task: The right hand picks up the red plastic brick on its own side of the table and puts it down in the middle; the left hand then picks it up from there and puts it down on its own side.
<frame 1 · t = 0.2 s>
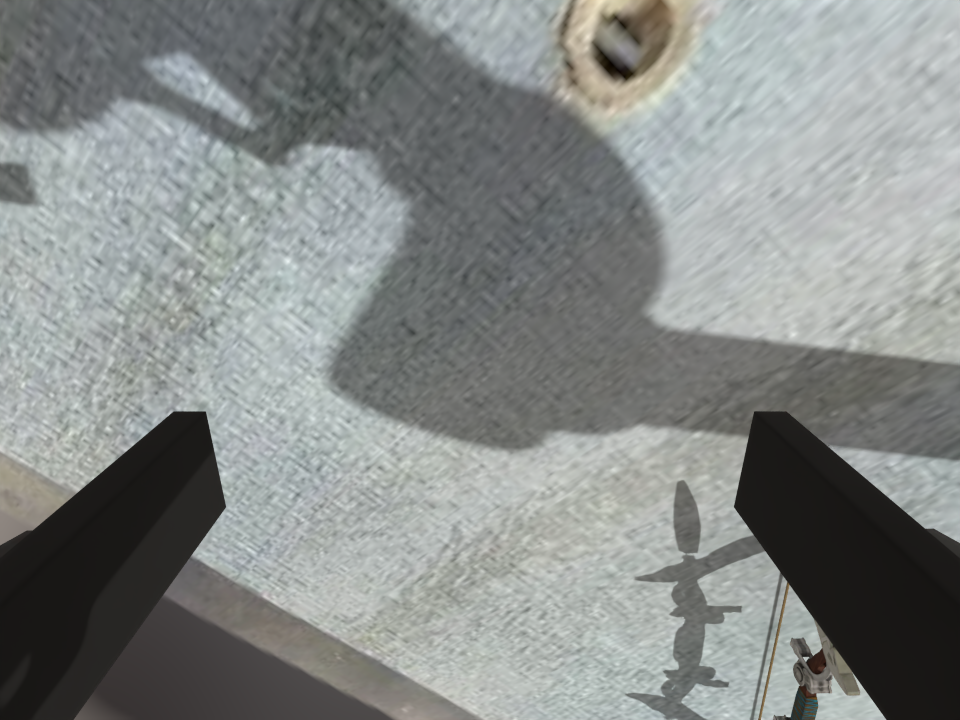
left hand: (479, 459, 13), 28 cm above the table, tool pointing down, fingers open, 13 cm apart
bow: (771, 652, 54), on the table
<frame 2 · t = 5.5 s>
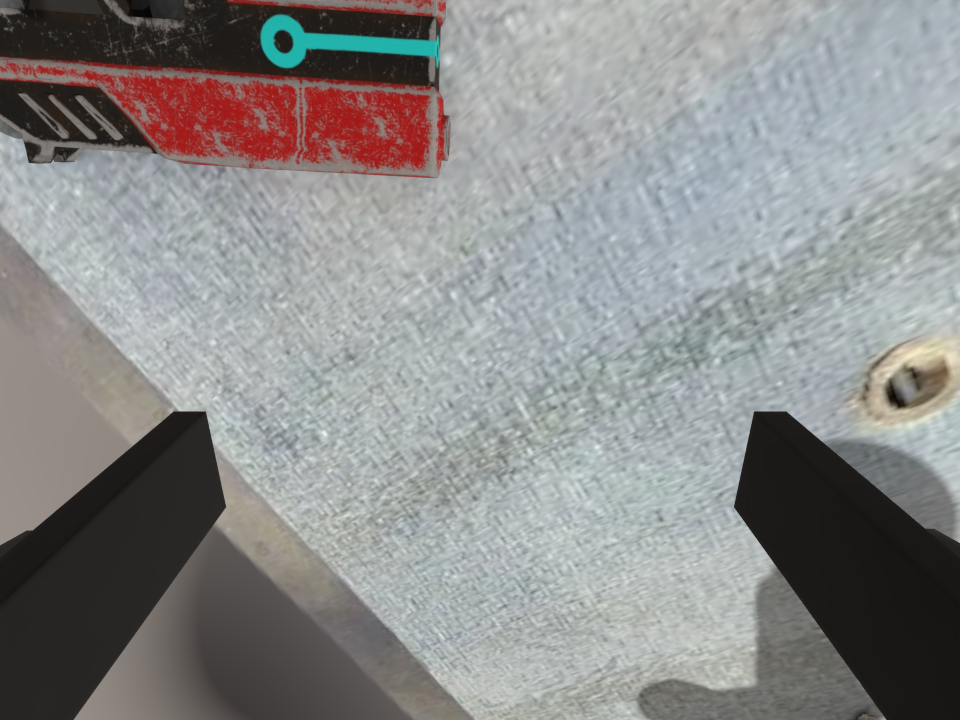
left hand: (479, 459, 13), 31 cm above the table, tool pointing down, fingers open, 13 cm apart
gun: (231, 28, 36), on the table
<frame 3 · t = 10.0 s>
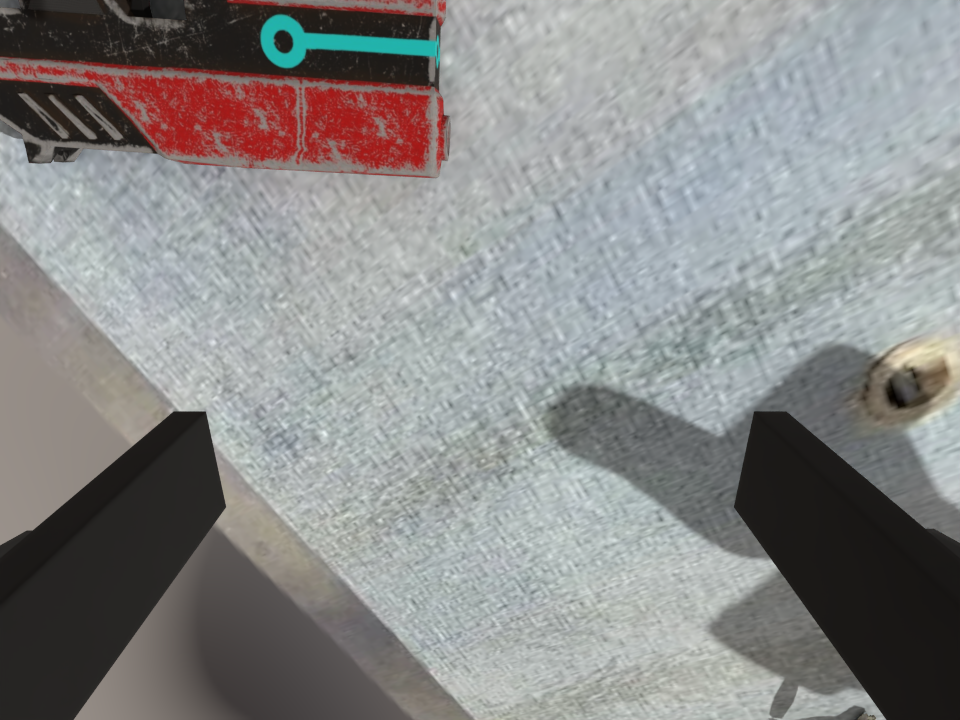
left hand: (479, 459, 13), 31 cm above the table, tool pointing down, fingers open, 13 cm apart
gun: (231, 28, 36), on the table
when the right hand's fingers open (4 cm above the table, at t = 14.5 s): brick drops 2 cm, on the table.
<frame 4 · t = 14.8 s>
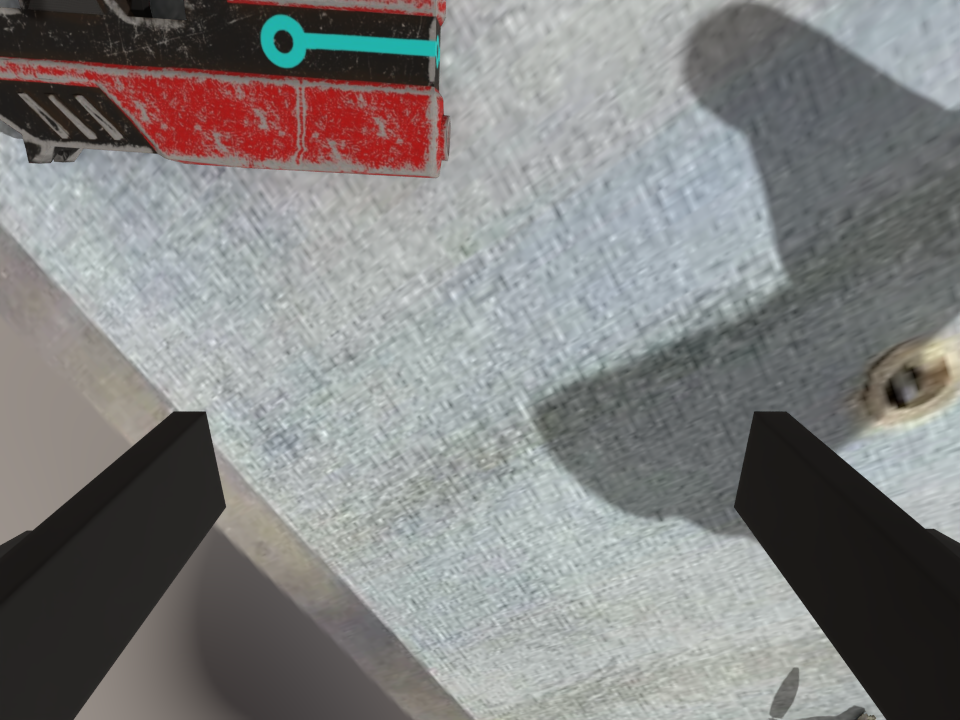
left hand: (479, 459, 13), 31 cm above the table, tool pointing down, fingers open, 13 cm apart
gun: (231, 28, 36), on the table
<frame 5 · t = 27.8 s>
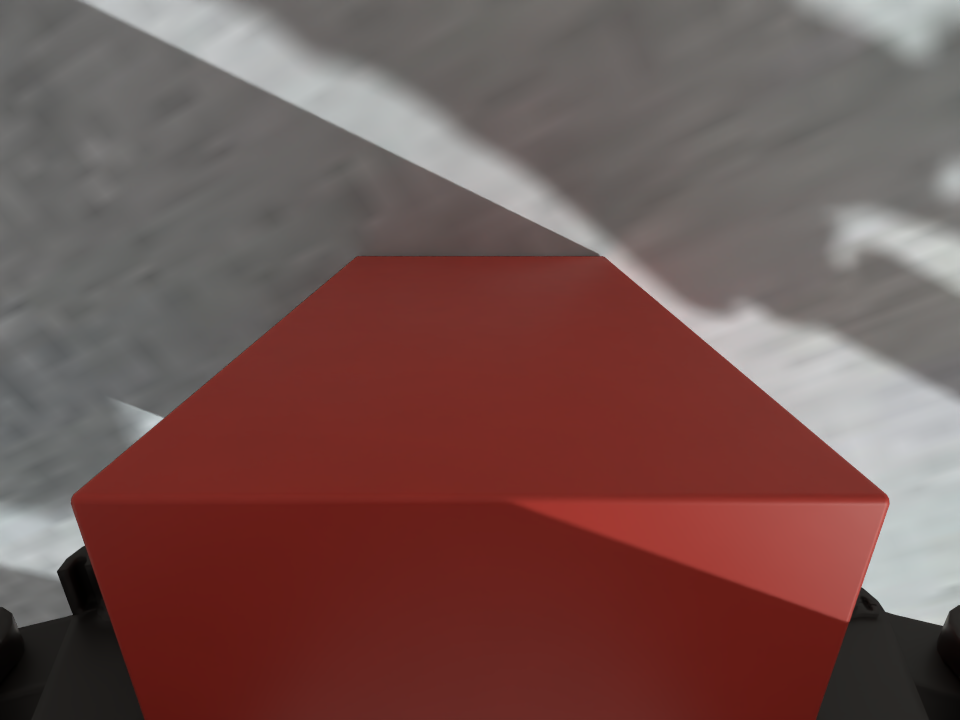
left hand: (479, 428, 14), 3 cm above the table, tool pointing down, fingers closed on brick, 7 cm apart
brick: (480, 389, 17), on the table, touching left hand
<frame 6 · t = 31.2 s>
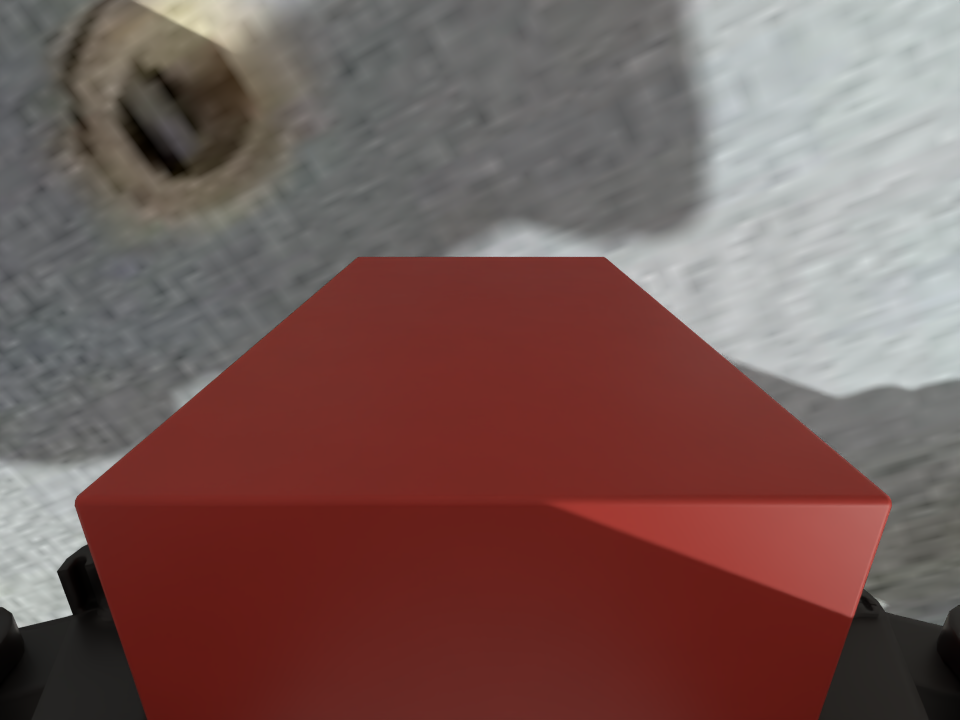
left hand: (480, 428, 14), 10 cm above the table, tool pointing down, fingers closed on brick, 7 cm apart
brick: (481, 389, 17), point 8 cm above the table, touching left hand
when the left hand's fingers open (4 cm above the table, at t = 34.6 s): brick drops 2 cm, on the table.
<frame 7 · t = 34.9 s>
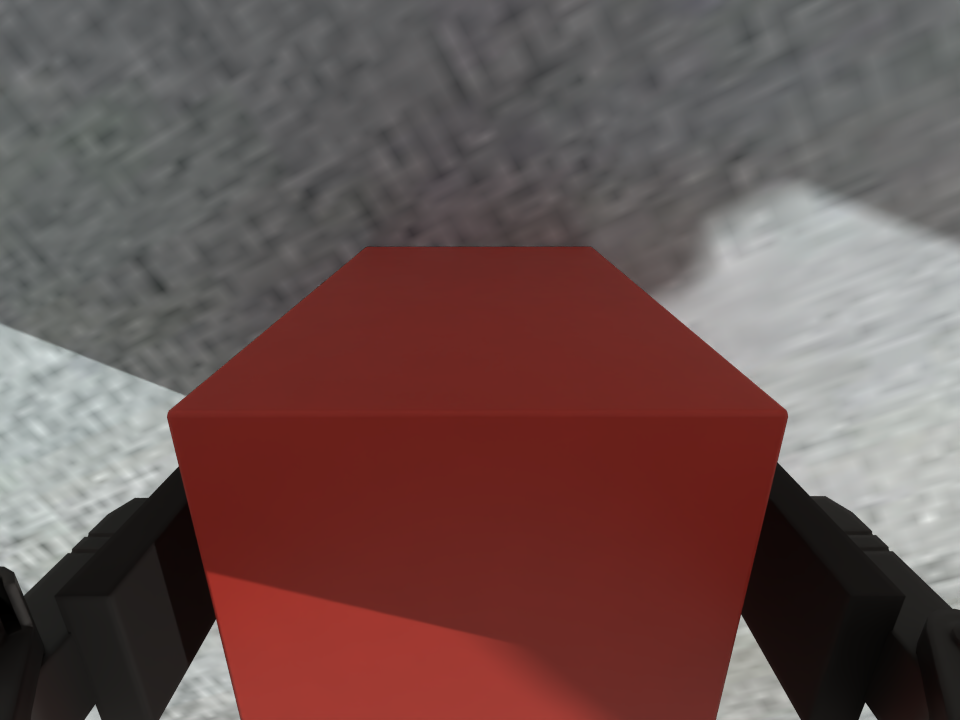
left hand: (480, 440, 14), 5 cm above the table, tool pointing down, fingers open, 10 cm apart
brick: (478, 369, 18), on the table
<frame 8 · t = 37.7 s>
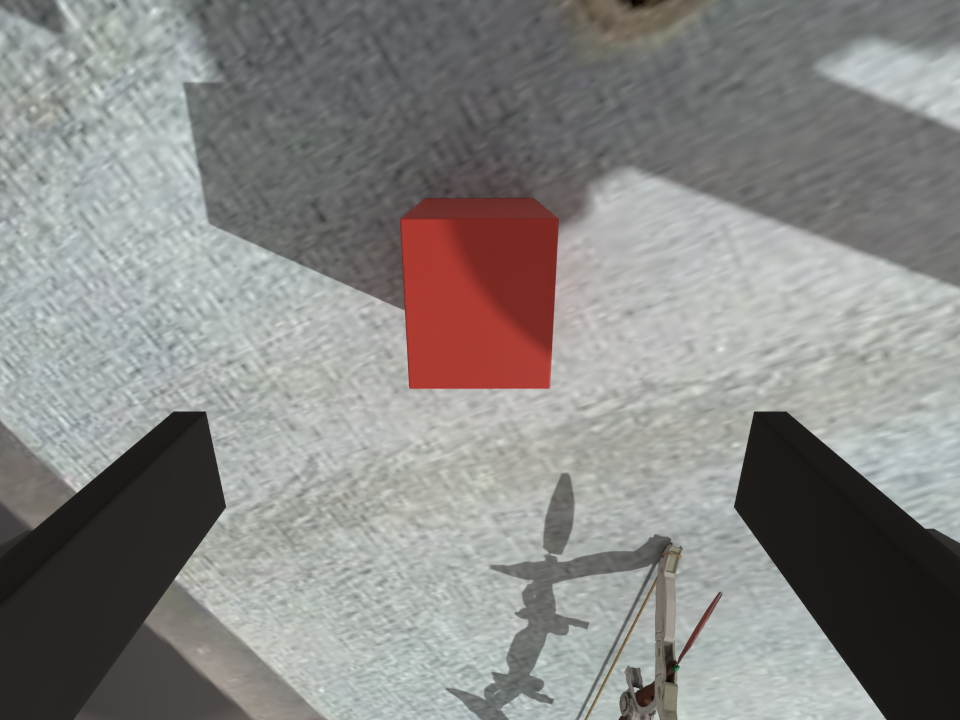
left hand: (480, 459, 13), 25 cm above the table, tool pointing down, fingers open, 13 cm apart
bow: (604, 678, 51), on the table
brick: (479, 262, 36), on the table
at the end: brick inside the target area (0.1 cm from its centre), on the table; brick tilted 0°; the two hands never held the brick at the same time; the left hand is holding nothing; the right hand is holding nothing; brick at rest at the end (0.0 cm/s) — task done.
